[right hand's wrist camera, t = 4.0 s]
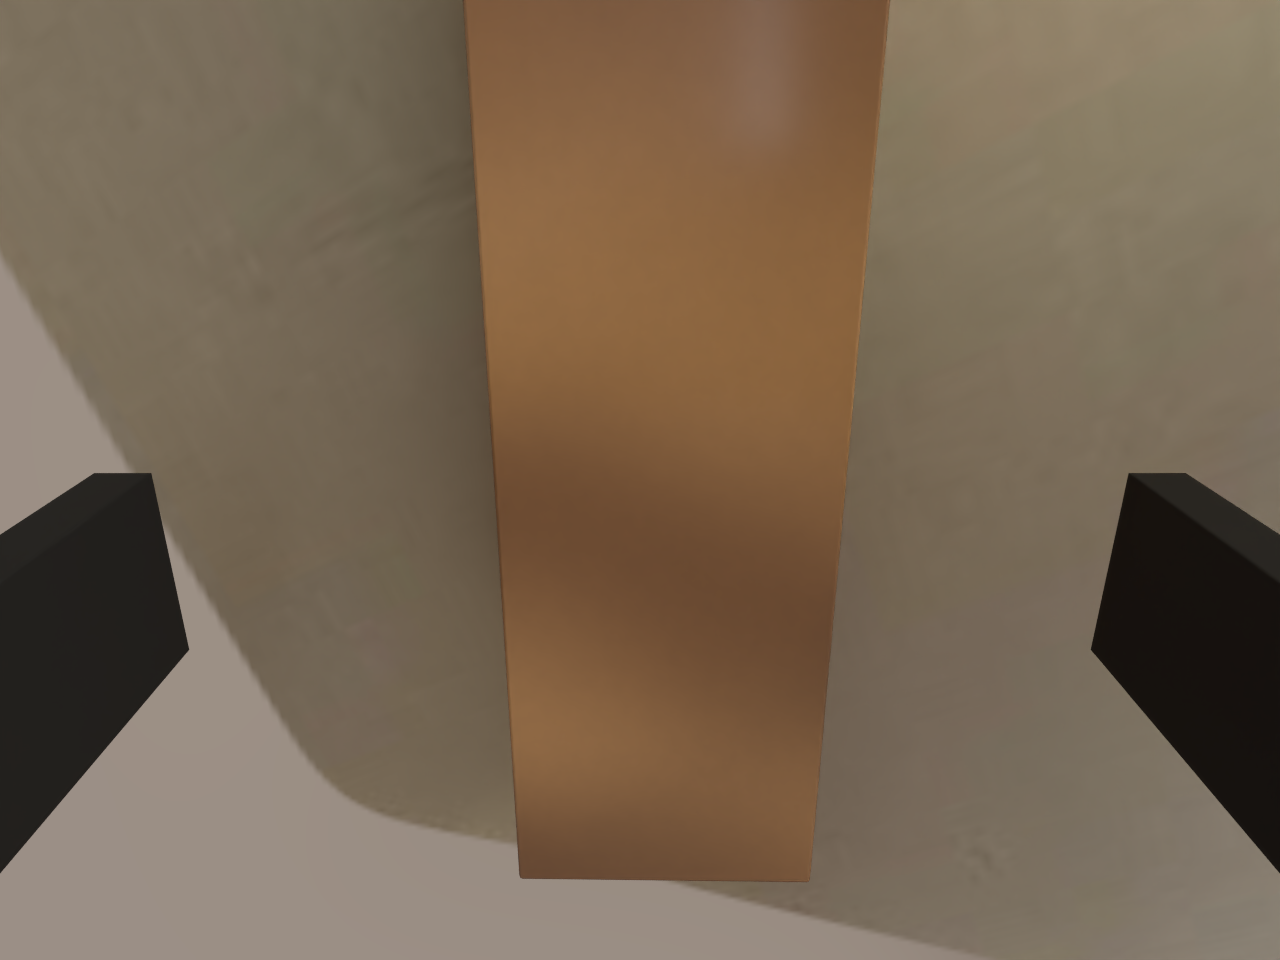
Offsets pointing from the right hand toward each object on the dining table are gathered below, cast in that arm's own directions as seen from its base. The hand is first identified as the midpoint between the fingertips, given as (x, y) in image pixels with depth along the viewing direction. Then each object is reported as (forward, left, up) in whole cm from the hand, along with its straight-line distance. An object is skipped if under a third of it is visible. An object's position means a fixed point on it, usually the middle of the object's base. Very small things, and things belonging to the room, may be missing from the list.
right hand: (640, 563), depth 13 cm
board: (-22, -4, -9) cm, 24 cm away
